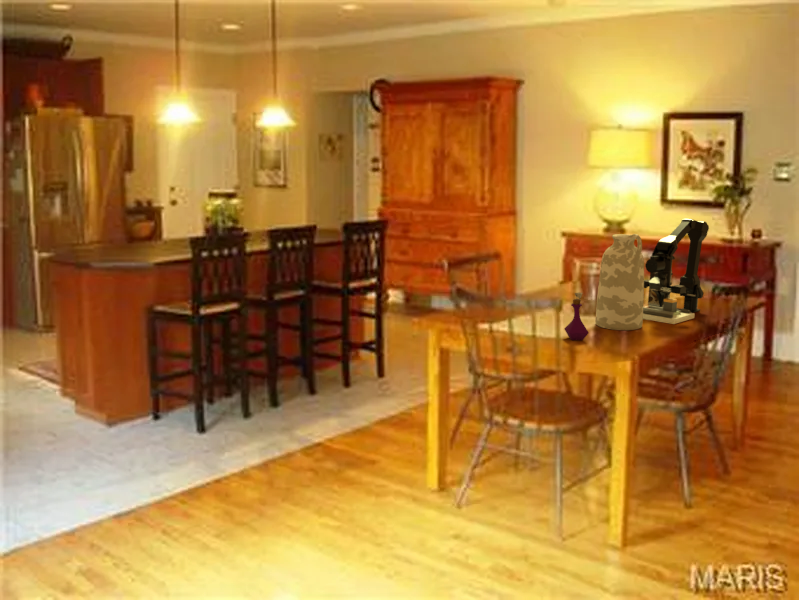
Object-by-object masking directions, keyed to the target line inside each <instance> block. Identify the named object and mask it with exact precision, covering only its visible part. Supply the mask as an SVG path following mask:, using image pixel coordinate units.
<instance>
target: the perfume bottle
mask: <svg viewBox="0 0 799 600" xmlns="http://www.w3.org/2000/svg"><path fill="white" fill-rule="evenodd" d="M582 295H583V292H574V296H575V298H574V299H573V300H572V302H573V303H571V304H570V305H571V307H573V310H574V311H573V318H572V320H571V321H570V322H569V323H568V324H567V325H566V326H565V327H564V329H563V330H564V331H565V333H566V335H567V337H568V338H569V339H570V340H571V341H583V340H584V339H585V338H586V337H587V336H588V335H589V331H588V329H587V328H586V325H584V322H583V321H582V318H581V315H580V308H581V307H582V306H583V304H582V303H581V301H582V299H581V298H582Z"/></svg>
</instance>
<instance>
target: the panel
mask: <svg viewBox="0 0 799 600" xmlns="http://www.w3.org/2000/svg"><path fill="white" fill-rule="evenodd" d="M695 313H696V312H690V310H686V309H682V308H678V307H677V309H676V312H669V311H663V306H662V307H660V305H655V304H647V305H644V306H643V320H647V321H653V322H654V321H655V322H658V323H665V324H672V325H675V324H678V323H682V322H685V321H688V320H692V319H695V316H696V315H695Z"/></svg>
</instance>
